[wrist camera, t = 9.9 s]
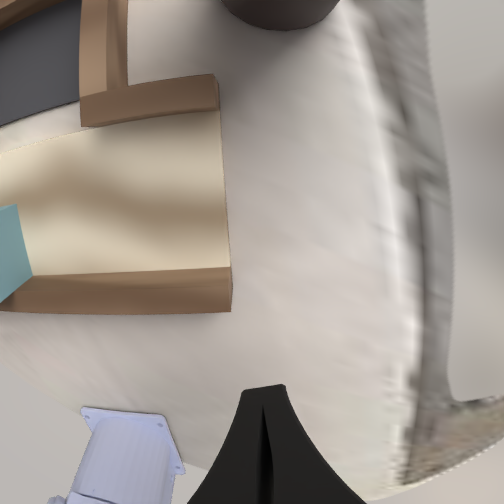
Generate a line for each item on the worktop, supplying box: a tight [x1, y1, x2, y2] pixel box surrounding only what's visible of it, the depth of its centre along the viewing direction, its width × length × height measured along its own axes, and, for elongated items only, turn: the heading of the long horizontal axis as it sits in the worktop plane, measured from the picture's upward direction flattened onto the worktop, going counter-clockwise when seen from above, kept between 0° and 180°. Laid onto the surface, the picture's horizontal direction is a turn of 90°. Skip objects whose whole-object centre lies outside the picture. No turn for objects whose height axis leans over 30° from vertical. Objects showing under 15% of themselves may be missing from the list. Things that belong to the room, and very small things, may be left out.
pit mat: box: [0, 0, 82, 126], centre depth 14 cm, size 8×9×1 cm
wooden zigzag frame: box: [0, 0, 233, 315], centre depth 14 cm, size 21×22×3 cm
